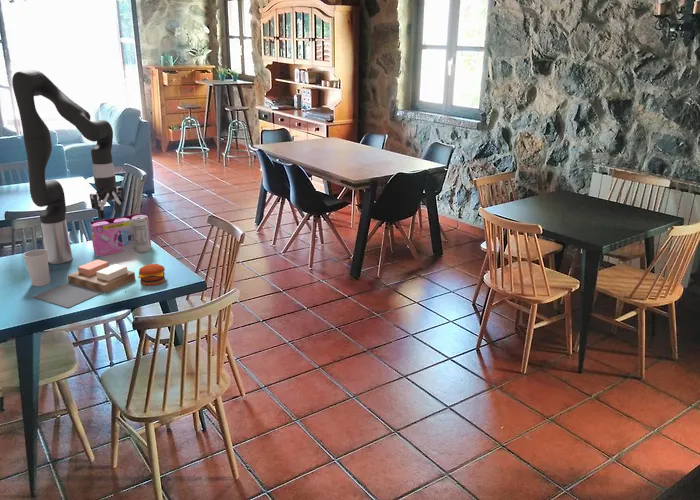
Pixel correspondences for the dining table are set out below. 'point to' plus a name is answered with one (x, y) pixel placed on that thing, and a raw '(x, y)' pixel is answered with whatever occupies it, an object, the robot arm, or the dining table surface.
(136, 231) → the energy drink can
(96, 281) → the walnut board
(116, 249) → the gum box
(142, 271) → the hamburger
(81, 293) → the slate mat
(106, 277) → the cream card box
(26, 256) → the cup
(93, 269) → the terracotta card box
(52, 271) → the dining table surface
